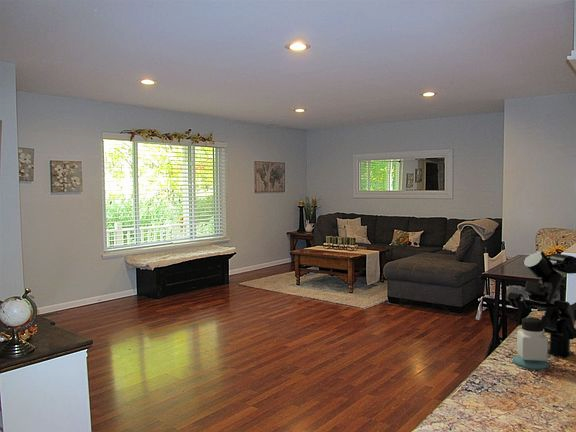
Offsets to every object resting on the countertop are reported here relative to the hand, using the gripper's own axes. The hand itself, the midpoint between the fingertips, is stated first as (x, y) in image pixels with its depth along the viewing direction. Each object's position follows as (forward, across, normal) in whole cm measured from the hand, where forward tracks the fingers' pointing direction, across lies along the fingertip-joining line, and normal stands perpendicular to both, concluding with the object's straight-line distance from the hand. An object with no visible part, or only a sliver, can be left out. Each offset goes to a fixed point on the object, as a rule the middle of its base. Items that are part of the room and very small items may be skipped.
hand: (529, 327), depth 149 cm
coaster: (+7, 0, +9) cm, 12 cm away
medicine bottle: (+6, 0, +8) cm, 10 cm away
